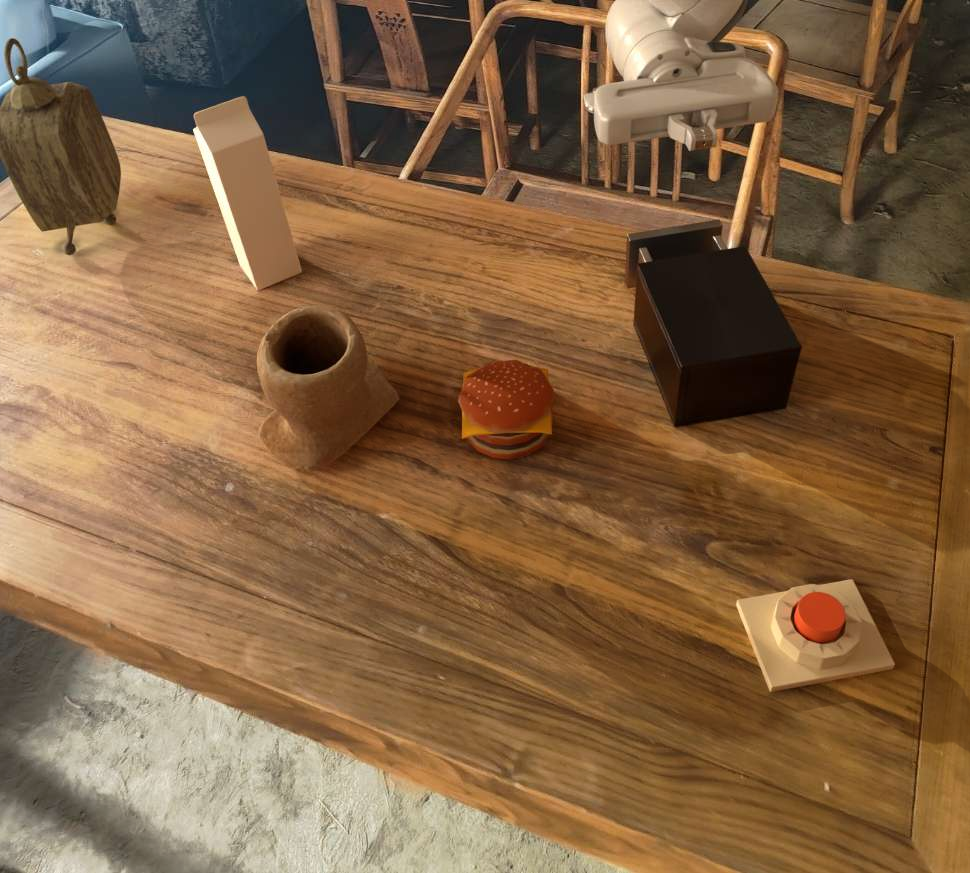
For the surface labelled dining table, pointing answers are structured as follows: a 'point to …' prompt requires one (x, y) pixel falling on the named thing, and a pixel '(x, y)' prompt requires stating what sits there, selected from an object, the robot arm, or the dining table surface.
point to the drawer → (670, 244)
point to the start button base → (804, 660)
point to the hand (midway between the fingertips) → (704, 143)
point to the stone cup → (318, 387)
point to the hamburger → (507, 408)
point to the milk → (247, 191)
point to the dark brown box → (714, 336)
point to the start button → (819, 617)
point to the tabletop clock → (57, 152)
